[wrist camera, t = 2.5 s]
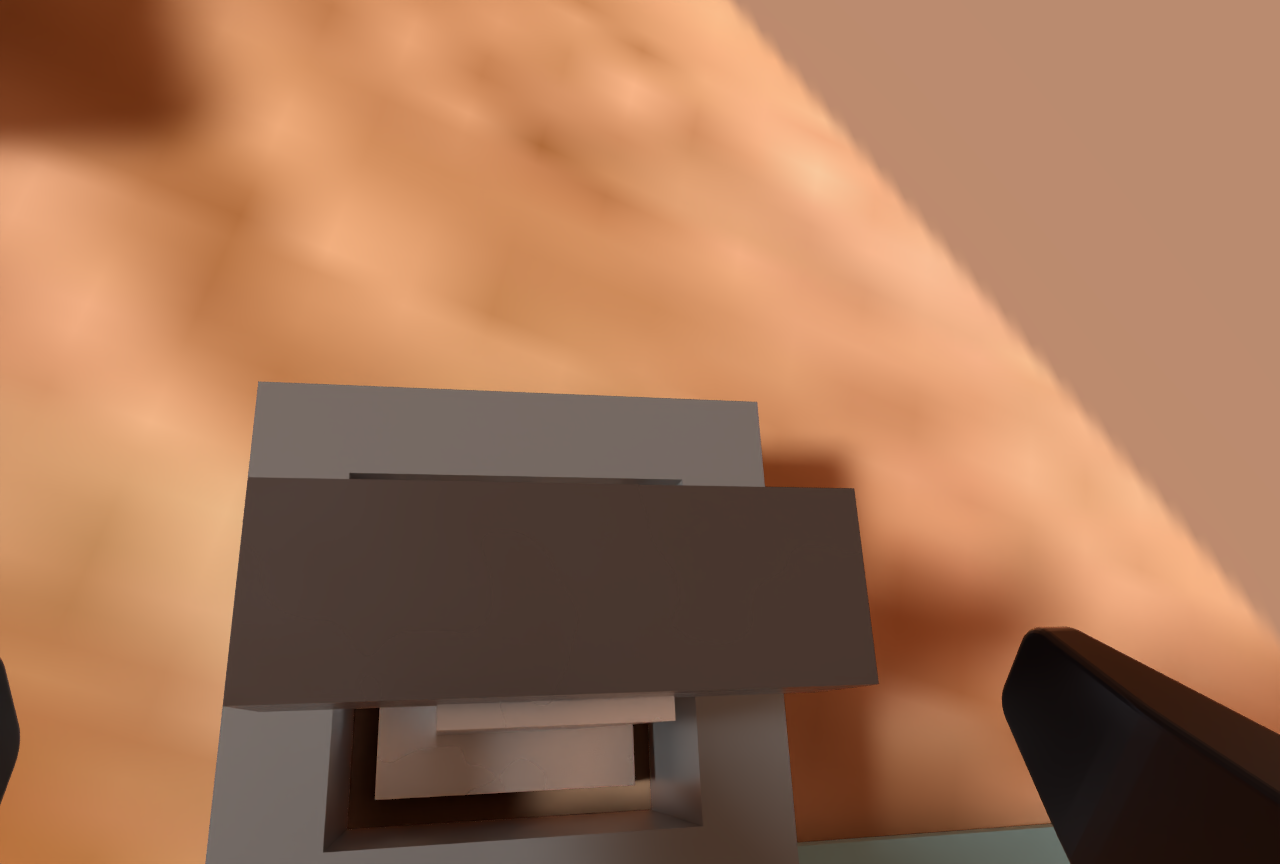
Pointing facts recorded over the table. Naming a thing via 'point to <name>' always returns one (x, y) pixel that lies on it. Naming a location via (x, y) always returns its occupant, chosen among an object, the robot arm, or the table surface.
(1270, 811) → the robot arm
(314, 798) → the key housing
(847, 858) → the key mat
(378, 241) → the table surface
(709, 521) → the t key
